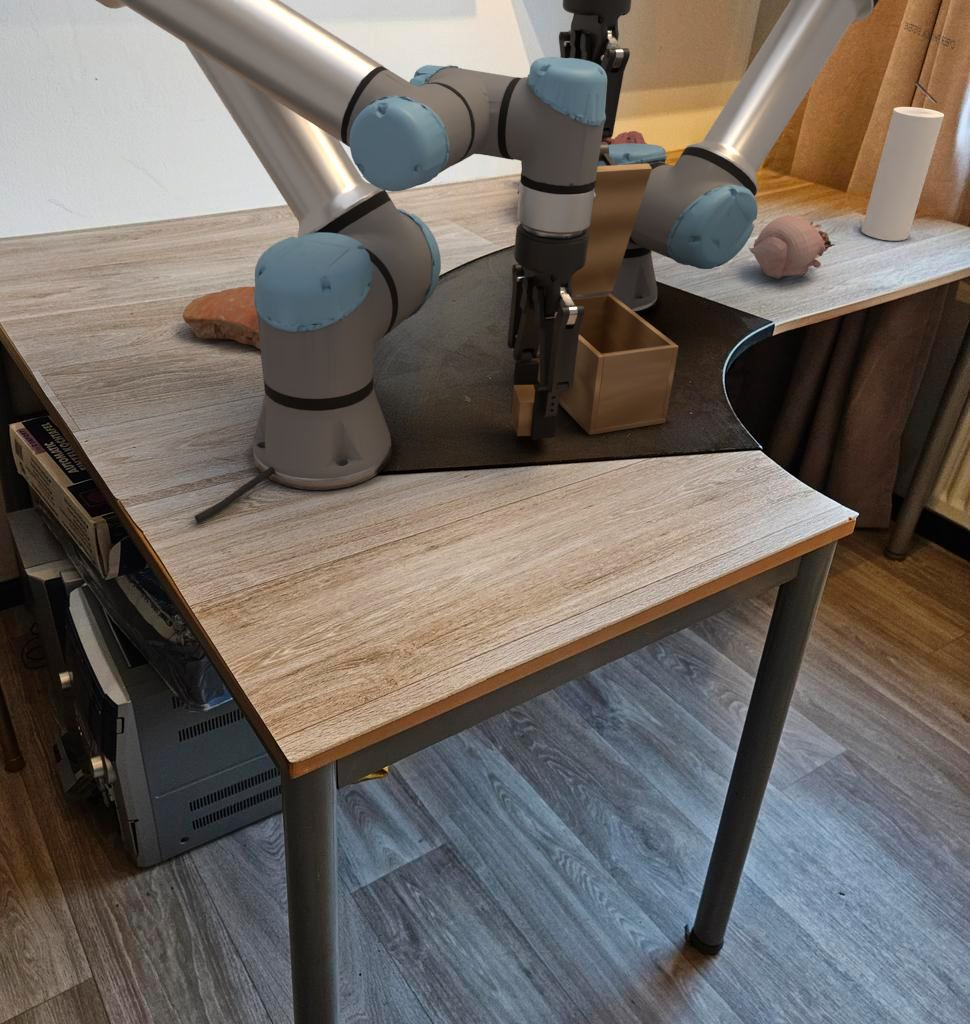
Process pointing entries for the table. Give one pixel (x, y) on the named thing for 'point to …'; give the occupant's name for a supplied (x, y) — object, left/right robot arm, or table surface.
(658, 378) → the chest
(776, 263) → the toy
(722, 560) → the table surface
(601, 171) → the lid
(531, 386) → the block
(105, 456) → the table surface
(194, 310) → the ceramic shard
